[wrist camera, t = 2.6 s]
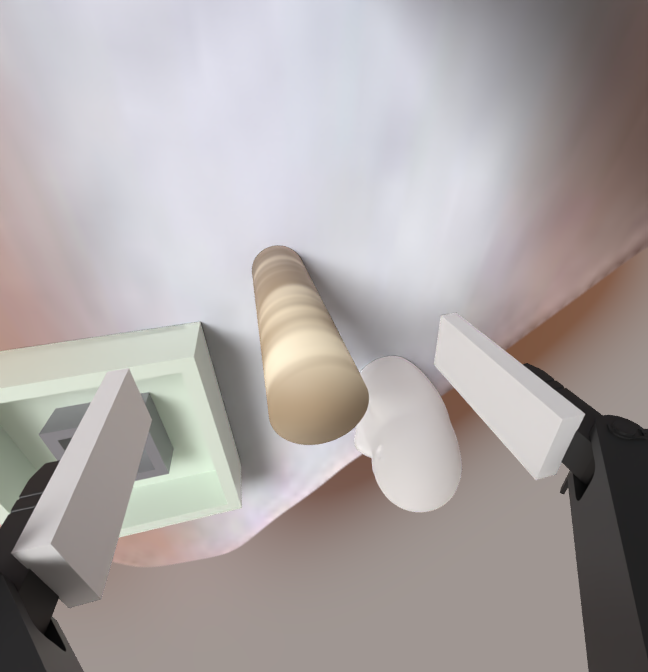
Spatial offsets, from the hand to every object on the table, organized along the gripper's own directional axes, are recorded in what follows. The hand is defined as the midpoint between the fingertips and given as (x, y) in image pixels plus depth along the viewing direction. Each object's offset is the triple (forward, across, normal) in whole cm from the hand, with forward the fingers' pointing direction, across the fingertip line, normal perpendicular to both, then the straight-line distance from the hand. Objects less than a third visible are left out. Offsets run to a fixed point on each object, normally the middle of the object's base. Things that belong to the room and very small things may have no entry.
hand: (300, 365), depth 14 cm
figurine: (+11, +8, -12) cm, 18 cm away
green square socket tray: (+11, -14, -11) cm, 21 cm away
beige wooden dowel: (+11, 0, 0) cm, 11 cm away
